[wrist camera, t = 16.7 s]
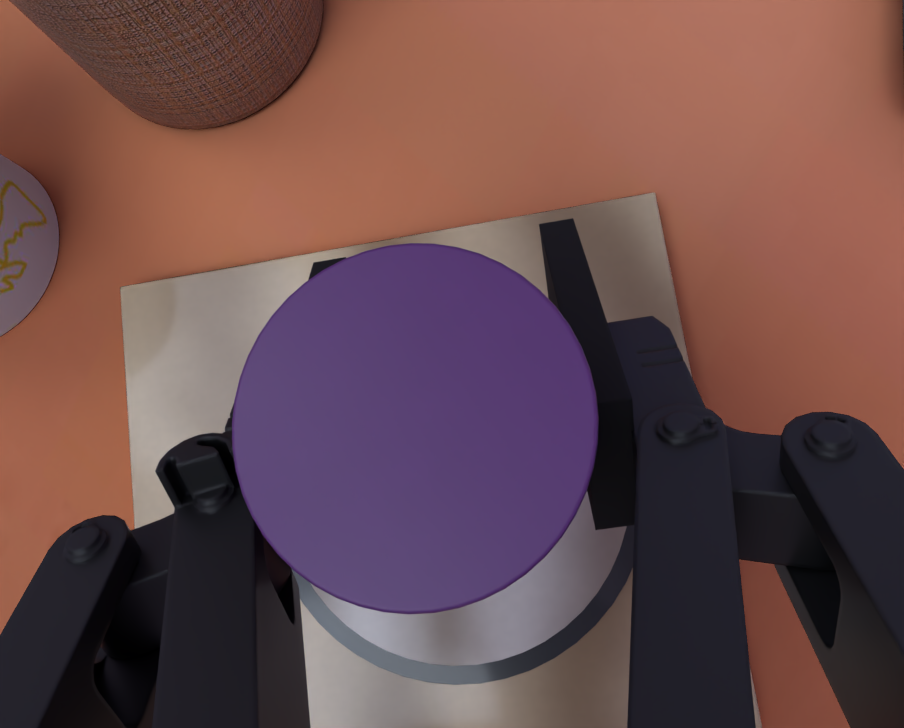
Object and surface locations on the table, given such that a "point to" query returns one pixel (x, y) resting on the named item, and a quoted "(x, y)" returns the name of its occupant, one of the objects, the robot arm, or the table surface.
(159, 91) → the vase
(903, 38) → the plate
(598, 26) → the table surface
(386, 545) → the purple cylinder
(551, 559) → the board
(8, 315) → the light grey upright cylinder
